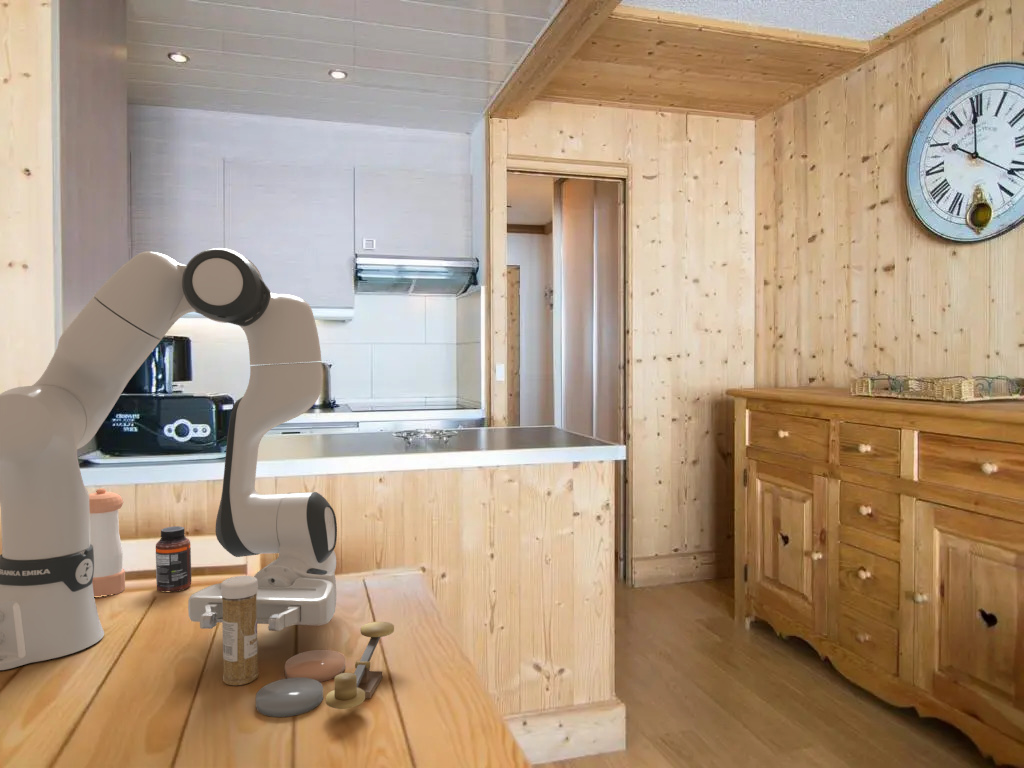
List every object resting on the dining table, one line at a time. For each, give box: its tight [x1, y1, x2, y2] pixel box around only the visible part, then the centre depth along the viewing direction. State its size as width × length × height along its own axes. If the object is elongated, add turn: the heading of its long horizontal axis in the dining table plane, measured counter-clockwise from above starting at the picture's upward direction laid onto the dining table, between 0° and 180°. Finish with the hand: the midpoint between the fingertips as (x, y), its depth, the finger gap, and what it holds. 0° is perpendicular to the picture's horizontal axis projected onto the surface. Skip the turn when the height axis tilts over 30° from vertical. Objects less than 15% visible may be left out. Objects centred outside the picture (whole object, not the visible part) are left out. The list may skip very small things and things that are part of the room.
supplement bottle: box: [155, 526, 192, 592], centre depth 133 cm, size 6×6×11 cm
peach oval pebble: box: [284, 649, 346, 683], centre depth 98 cm, size 8×8×1 cm
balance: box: [325, 621, 395, 710], centre depth 93 cm, size 5×19×5 cm, turn 176°
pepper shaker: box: [88, 487, 126, 596], centre depth 131 cm, size 7×7×19 cm
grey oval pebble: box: [255, 677, 324, 718], centre depth 89 cm, size 8×8×1 cm
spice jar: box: [221, 575, 260, 686], centre depth 95 cm, size 5×5×13 cm
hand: (239, 624), depth 95 cm, fingers open, 8 cm apart
